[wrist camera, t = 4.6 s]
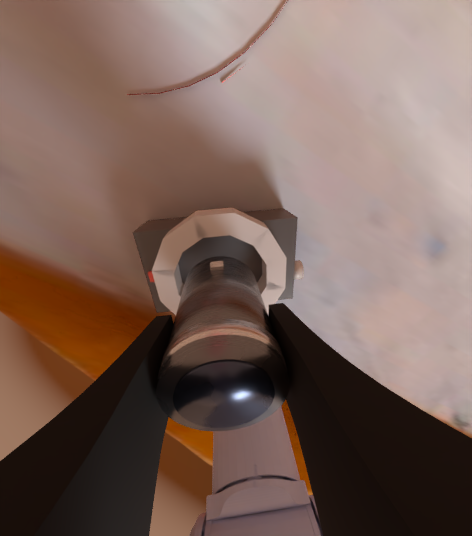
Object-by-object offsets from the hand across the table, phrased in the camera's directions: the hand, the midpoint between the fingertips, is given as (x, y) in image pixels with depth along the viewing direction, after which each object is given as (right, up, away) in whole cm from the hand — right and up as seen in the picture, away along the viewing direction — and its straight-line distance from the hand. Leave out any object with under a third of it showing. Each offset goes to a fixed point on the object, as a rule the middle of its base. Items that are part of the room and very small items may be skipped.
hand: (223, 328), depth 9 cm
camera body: (-1, +4, +8) cm, 9 cm away
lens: (0, +1, +3) cm, 3 cm away
